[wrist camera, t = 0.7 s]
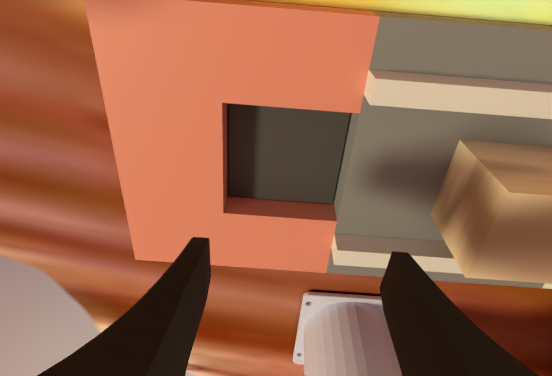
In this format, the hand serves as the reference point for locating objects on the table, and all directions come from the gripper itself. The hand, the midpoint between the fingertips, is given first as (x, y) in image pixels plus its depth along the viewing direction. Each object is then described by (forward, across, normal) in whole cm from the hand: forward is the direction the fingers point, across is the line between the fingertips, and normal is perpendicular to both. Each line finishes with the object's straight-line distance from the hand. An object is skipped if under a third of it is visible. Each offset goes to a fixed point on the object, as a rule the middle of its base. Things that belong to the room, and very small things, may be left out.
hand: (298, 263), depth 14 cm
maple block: (+7, -11, 0) cm, 13 cm away
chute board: (+9, -11, 0) cm, 14 cm away
